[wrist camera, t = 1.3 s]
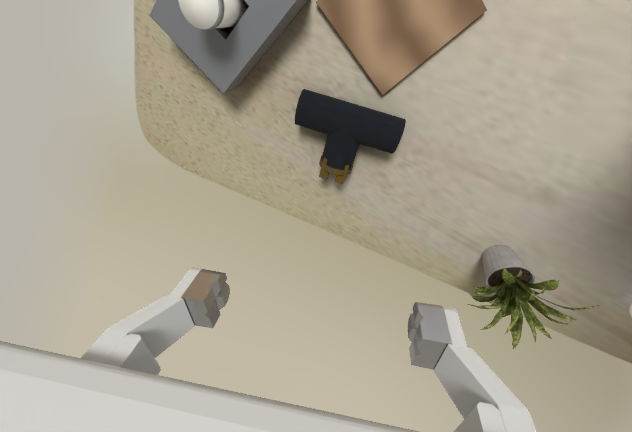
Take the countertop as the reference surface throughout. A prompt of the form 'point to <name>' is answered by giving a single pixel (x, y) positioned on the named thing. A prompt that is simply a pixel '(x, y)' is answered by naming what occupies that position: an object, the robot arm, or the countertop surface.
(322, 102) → the pipe connector
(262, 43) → the socket block
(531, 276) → the house plant
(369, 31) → the pad
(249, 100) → the countertop surface
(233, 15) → the plug
